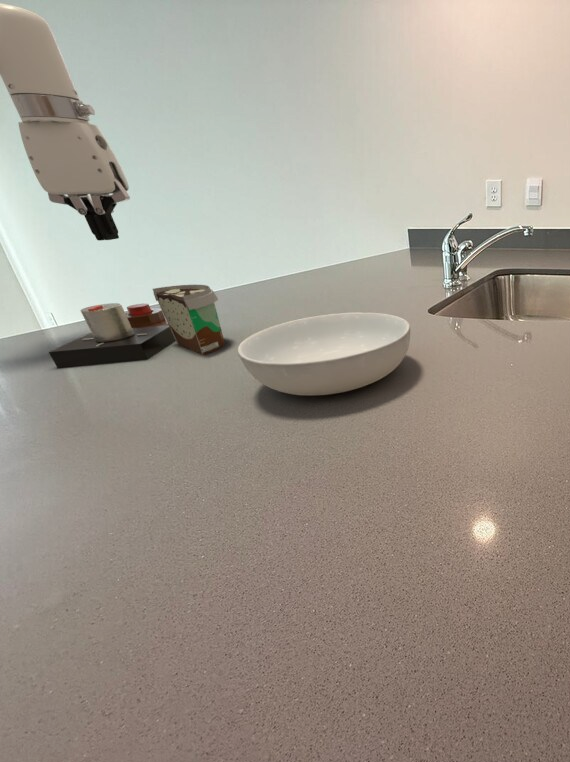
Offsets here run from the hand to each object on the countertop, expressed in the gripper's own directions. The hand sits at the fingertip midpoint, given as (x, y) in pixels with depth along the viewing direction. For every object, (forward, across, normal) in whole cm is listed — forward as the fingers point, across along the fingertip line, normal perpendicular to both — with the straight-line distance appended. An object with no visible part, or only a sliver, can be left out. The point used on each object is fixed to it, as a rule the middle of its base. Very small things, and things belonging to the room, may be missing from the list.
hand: (108, 239), depth 70 cm
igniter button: (+14, 0, 0) cm, 14 cm away
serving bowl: (+17, -39, +33) cm, 54 cm away
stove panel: (+17, -2, +12) cm, 21 cm away
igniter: (+17, 0, 0) cm, 17 cm away
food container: (+17, -15, +12) cm, 26 cm away
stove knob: (+14, -2, +12) cm, 19 cm away
